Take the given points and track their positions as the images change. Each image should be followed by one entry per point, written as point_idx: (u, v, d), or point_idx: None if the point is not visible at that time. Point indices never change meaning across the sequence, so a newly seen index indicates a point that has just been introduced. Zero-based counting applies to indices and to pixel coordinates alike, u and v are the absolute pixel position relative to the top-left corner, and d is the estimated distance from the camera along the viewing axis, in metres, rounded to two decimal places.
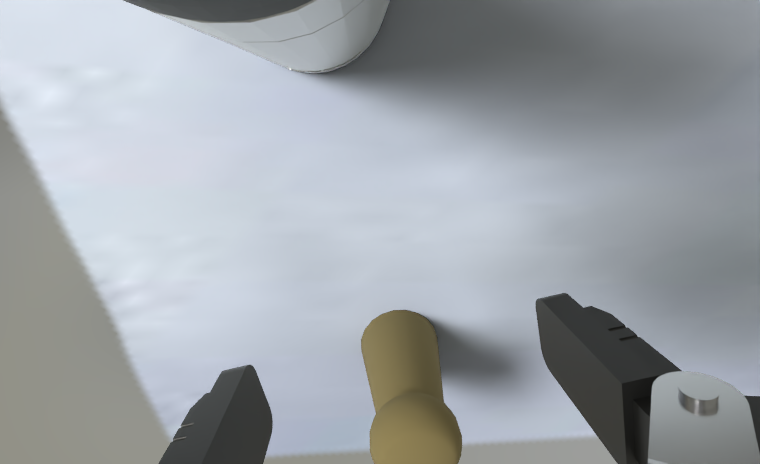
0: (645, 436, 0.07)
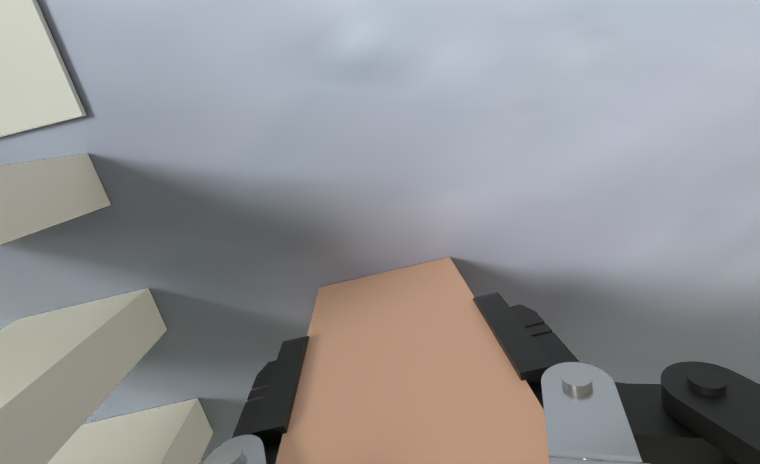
0: None
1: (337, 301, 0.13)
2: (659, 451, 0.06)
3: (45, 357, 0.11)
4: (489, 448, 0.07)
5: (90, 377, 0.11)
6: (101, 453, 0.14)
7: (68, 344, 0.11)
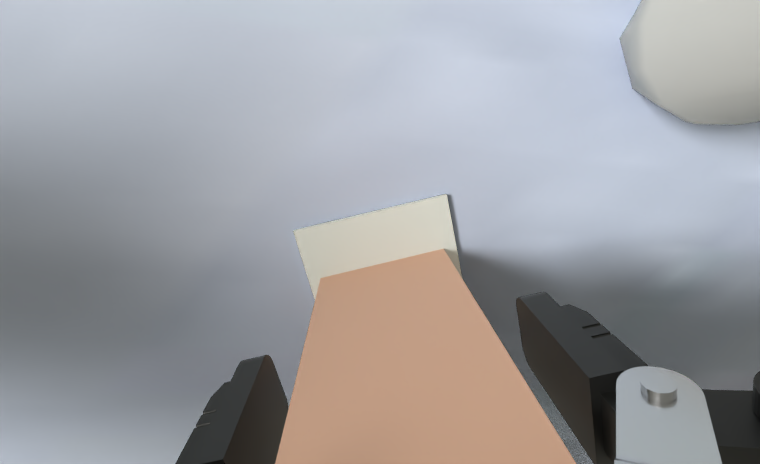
0: (611, 429, 0.07)
1: (338, 290, 0.14)
2: None
3: None
4: (473, 407, 0.07)
5: None
6: None
7: None
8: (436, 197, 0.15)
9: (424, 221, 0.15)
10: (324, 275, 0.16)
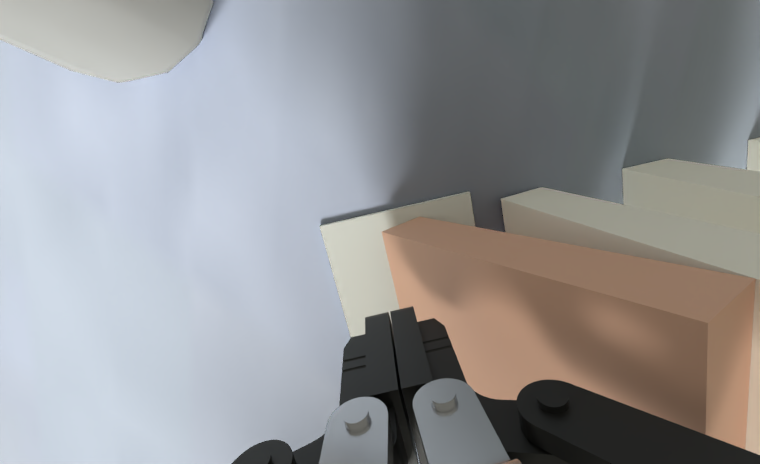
0: None
1: None
2: None
3: (709, 208, 0.12)
4: (610, 346, 0.08)
5: (736, 178, 0.12)
6: None
7: (694, 197, 0.12)
8: (322, 235, 0.16)
9: (346, 245, 0.16)
10: None
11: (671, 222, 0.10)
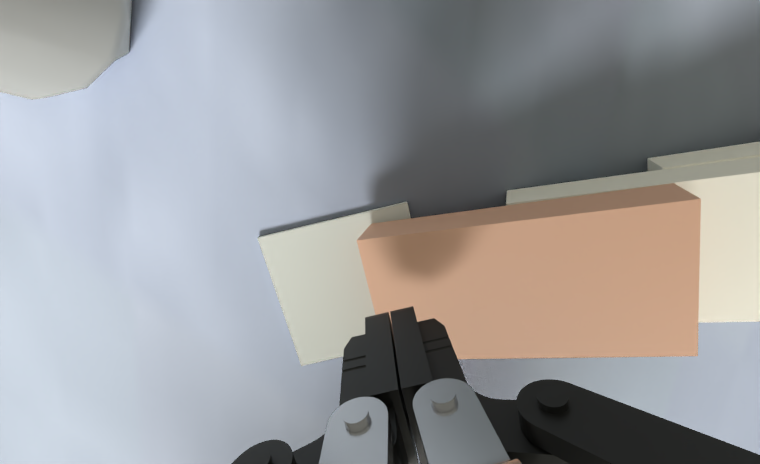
0: None
1: None
2: None
3: None
4: (634, 244, 0.11)
5: None
6: None
7: None
8: (261, 246, 0.15)
9: (285, 256, 0.16)
10: (343, 342, 0.17)
11: (695, 168, 0.13)
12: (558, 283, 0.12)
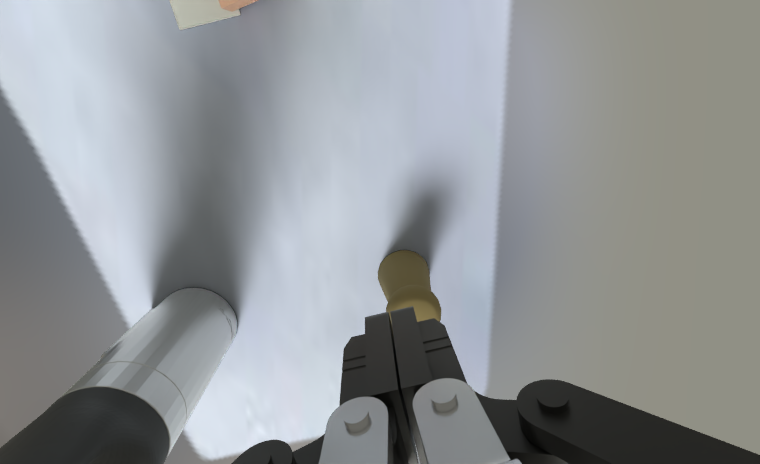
0: None
1: None
2: None
3: None
4: None
5: None
6: None
7: None
8: None
9: None
10: (197, 17, 0.37)
11: None
12: None
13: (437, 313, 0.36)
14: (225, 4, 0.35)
